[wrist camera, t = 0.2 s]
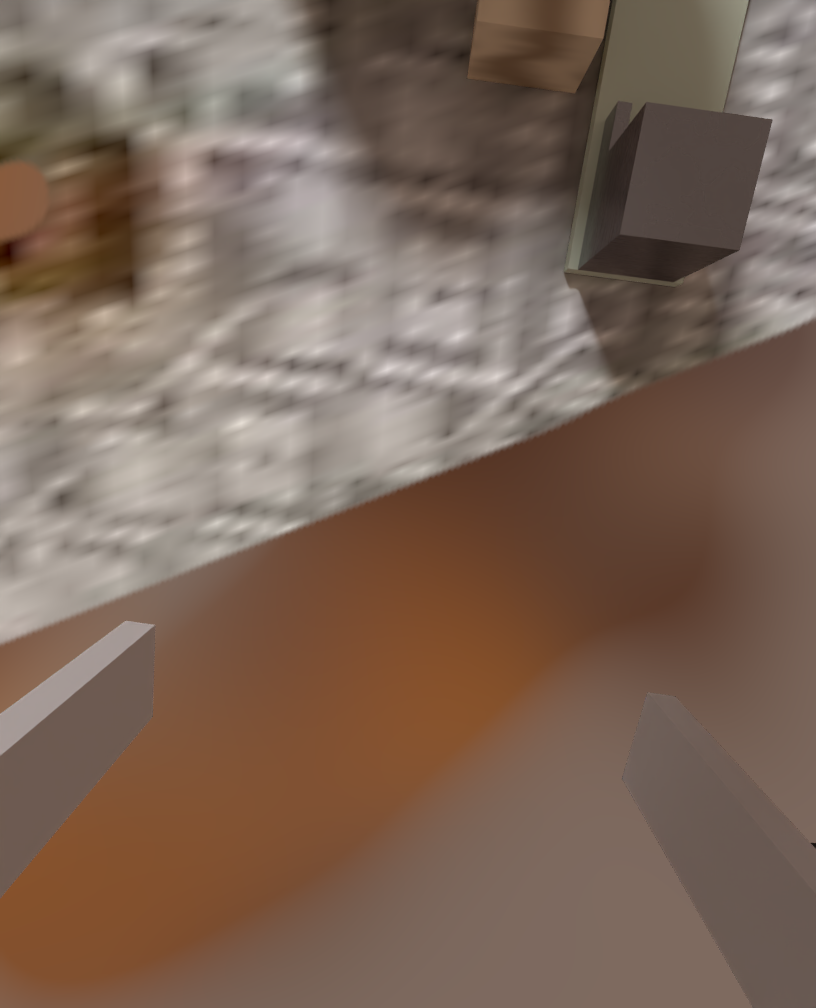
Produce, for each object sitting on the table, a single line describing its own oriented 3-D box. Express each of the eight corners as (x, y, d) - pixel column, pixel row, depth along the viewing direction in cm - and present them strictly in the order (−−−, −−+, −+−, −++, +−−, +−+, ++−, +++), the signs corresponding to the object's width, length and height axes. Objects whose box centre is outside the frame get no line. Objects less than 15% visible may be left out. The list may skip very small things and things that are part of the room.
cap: (605, 119, 32) (658, 40, 25) (707, 134, 32) (787, 59, 25) (577, 269, 34) (619, 234, 27) (673, 282, 34) (739, 250, 27)
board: (646, -187, 29) (654, -207, 28) (779, -166, 29) (792, -186, 28) (563, 272, 35) (567, 268, 34) (675, 287, 35) (682, 283, 34)
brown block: (466, 79, 32) (477, 20, 28) (475, 14, 32) (486, -59, 27) (574, 94, 33) (603, 38, 28) (585, 30, 32) (617, -40, 27)
